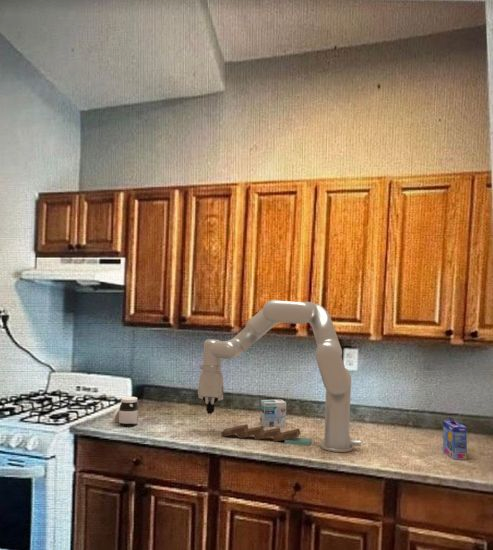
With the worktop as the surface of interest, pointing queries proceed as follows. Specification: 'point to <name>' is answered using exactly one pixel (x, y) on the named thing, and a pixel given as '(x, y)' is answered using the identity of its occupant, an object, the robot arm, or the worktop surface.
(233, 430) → the walnut domino
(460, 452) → the ink cartridge box
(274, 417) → the light bulb box
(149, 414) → the worktop surface
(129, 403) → the spread jar
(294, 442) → the teal domino
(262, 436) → the walnut domino
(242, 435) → the walnut domino
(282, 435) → the walnut domino
